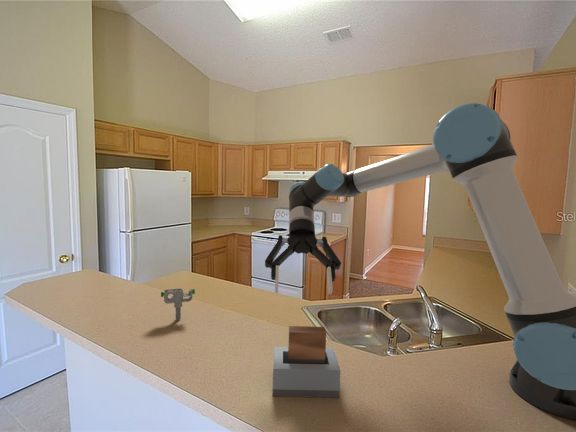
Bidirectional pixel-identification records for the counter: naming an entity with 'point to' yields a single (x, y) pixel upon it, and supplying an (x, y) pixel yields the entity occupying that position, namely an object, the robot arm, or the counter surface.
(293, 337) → the brown wood block
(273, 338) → the counter surface
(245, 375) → the counter surface
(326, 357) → the frame block
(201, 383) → the counter surface
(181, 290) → the mechanical component
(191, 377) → the counter surface
